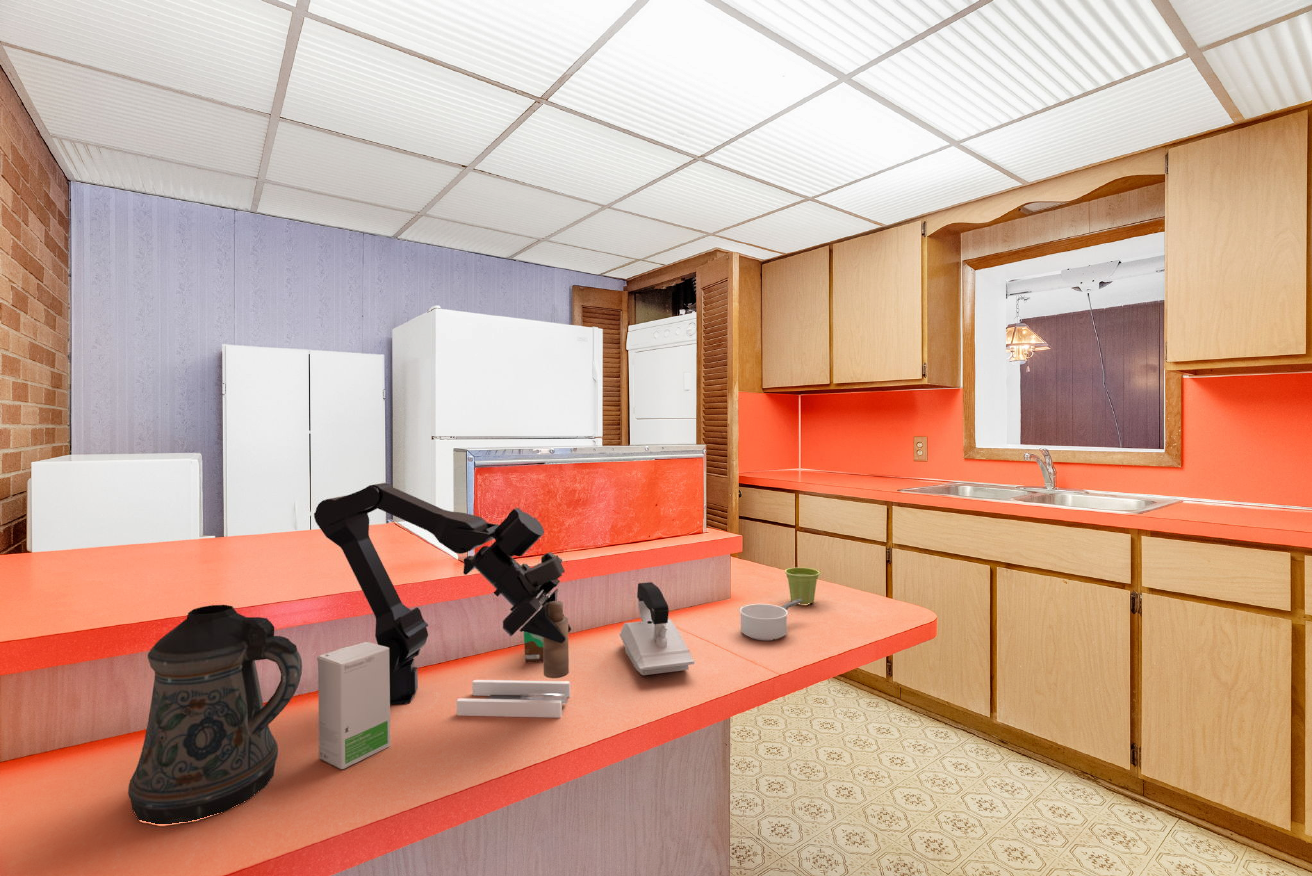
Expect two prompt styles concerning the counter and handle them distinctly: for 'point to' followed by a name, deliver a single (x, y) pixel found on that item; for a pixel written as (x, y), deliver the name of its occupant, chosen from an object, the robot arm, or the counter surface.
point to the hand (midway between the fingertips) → (566, 636)
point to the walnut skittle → (556, 645)
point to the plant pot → (802, 583)
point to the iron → (654, 636)
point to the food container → (533, 647)
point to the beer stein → (210, 716)
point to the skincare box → (353, 703)
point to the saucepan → (765, 620)
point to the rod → (544, 696)
